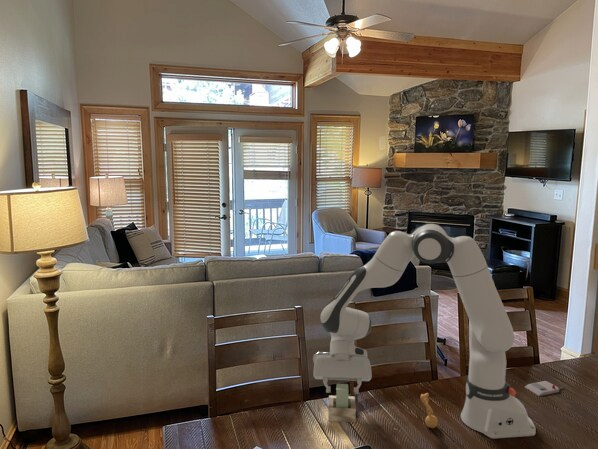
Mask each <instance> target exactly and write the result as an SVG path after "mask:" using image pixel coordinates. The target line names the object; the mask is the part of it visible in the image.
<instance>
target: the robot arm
mask: <svg viewBox="0 0 598 449" xmlns="http://www.w3.org/2000/svg"><path fill="white" fill-rule="evenodd" d="M414 258H417V259H418V260H419V261H420V262H422V263H426V264H445V263H446V264H447V265H448V267H449V270H450V272H451V275H452V278H453V281H454V284H455V286H456V289H457V291H458V293H459V296H460V299H461V301H462V304H463V306H464V309H465V311H466V315H467V317H468V320H469V321H468V323H469V324H468V336H469V337H468V342H469V343H468V344H469V345H468V346H469V348H468V349H469V360H468V361H469V362H468V375H467V377H466V383H465V394H466V395H465V400H464V405H463V408H462V411H461V413H460V419H461V421H462V422H463V423H464V424H465V425H466V426H467V427H469V428H470V429H472V430H474V431H477V432H479V433H481V434H484V435H485V436H487V437H488V438H490V439H506V438H518V437H521V438H522V437H534V436H535V435H536V433H537V432H536V429H537V428H536V426H535V424H534V422H533V420H532V419H531V418H530V416H528V412H527V409H526V408H525V405H524V404H523V403H522V402H521V400H520V399H518V398H516V396H517V391H516V390H515V389H514V388H513V387H511V385H510V384H509V383H508V382H507V381H506V373H507V356H506V352H507V351H509V350H510V349H511V348H512V347H513V345H514V342H515V333H514V328H513V326H512V323H511V321H510V318H509V316H508V314H507V310H506V308H505V306H504V303H503V302H502V299H501V296H500V295H499V292H498V290H497V287H496V286H495V281H494V279H493V276H492V274H491V271H490V269H489V265H488V264H487V261H486V258H485V257H484V254H483V252H482V250H481V248H480V246H479V245H478V244H477V242H476V240H475V238H472V237H471V236H468V235H461V236H456V237H451V236H449V235H448V233H447V230H446V229H445V227H443V226H442V225H441V224H440V223H436V222H425V223H423V224H421V225H420V226H418V227H416V228H415V229H412V230H411V231H410V233H406V232H404V231H401V230H394V231H391V232H390V233H389V234H388V235H386V237H384V240H383V241H382V243H381V244H380V245H379V247H378V249H377V250H376V252H375V253H374V255H373V256H372V258H371V259H370V260H369V261H367V263H365V264H364V265H363V266H360V267H357V268H356V269H355V270H354V271H353V272H352V273H351V275H350V276H349V277H348V278H347V279H346V281H345V282H344V284H343V285H342V286H341V287H340V288H339V290H338V291H337V292H336V294H335V295H334V296H333V298H332V299H331V300H330V301H329V302H328V303H327V304H326V305H325V306H324V307H323V308H322V310H321V313H320V316H319V321H320V324H321V327H322V328H323V329H324V330H325V332H327V333H330V336H331V338H330V339H331V340H330V343H329V346H330V347H329V351H325V352H324V351H318V352H315V353H314V354H313V356H312V363H313V364H314V366H313V372H312V373H313V378H314V379H315V380H322V381H323V382H322V383H323V384H324V387H325V388H326V389H325V392H326V393H329V394H330V393H331V390H332V389H331V388H332V387H331V385H328V380H330V381H333V380H335V381H353V382H354V381H356V383H357V386H356V387H355V386H354V387H353V394H354V395H356V394H357V395H359V389H360V387H361V385H362V382H370V381H371V380H372V378H373V374H372V366H371V361H370V359H369V358H368V351H367V350H366V349H365V348H361V347H359V346H356V345H355V341H356V340H362V339H363V338H366V337H367V336H368V335H369V334H370V333H371V330H372V319H371V316H370V315H369V313H368V312H365V311H363V310H360V309H356V308H352V307H349V306H348V305H350V303H351V301H352V300H354V298H355V297H356V295H358V293H360V292H361V291H364V290H367V289H373V288H378V289H379V288H387V287H391V286H393V285H395V284H396V283H397V282H398V281H399V280H400V279H401V277H402V275H403V274H404V272H405V270H406V269H407V266H408V264H409V263H410V262H411V260H413V259H414Z"/></svg>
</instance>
